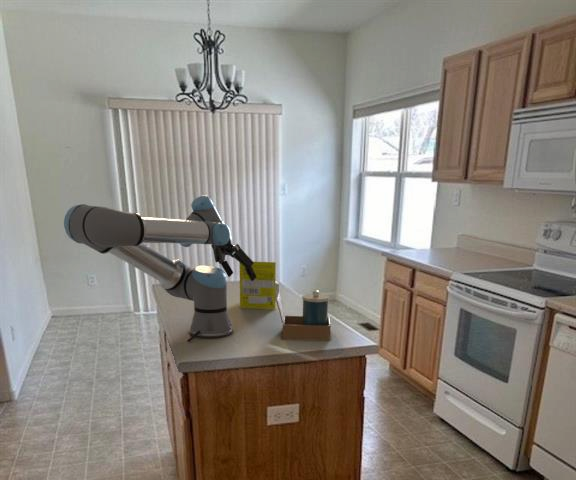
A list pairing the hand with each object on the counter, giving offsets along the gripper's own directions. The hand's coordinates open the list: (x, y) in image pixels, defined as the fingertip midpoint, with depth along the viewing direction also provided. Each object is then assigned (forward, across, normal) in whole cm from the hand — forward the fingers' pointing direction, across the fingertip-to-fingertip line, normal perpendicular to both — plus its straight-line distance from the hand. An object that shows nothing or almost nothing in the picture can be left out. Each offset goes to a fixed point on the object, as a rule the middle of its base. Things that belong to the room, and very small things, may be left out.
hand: (242, 276), depth 218 cm
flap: (-2, -33, +13) cm, 35 cm away
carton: (+10, -40, +14) cm, 43 cm away
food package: (+18, +1, +1) cm, 18 cm away
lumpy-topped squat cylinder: (+27, +13, -13) cm, 33 cm away
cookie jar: (+10, -42, +12) cm, 45 cm away
